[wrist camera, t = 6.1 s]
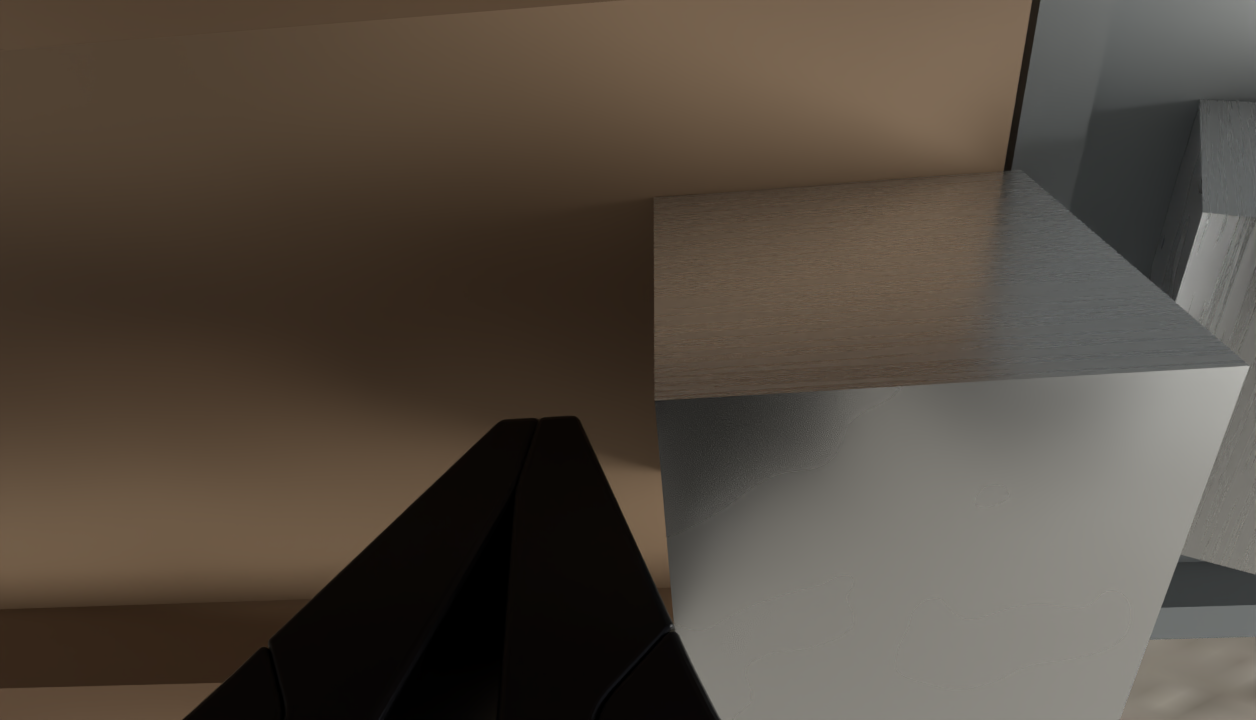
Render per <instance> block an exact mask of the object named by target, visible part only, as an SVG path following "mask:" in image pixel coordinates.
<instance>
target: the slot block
mask: <svg viewBox="0 0 1256 720" xmlns="http://www.w3.org/2000/svg"><path fill="white" fill-rule="evenodd" d="M1031 4H1032V0H0V720H182V719H183V718H184V717H185V716H187V715H188V714H189V713H190V712H191V711H192V710H193V709H194V708H195V707H196V706H198V705H199V704H200V703H201V702H202V701H203V700H204V699H205V698H206V697H207V696H209V695H210V694H211V693H212V692H213V691H214V690H215V689H216V688H217V687H218V686H220V685H221V684H222V683H223V682H224V681H225V680H226V679H227V678H228V677H229V676H230V675H231V674H233V673H234V672H235V671H236V670H237V669H238V668H239V667H240V666H241V665H242V664H243V663H244V662H245V661H246V660H247V659H248V658H249V657H250V656H251V655H253V654H254V653H255V652H256V651H257V650H258V649H259V648H260V647H263V646H265V647H267V648H268V641H269V639H270V638H271V637H272V636H273V635H274V634H275V633H276V632H277V631H278V630H279V629H280V628H281V627H283V626H284V625H285V624H286V623H287V622H288V621H289V620H290V619H291V618H292V617H293V616H294V615H295V614H296V613H297V612H298V611H299V610H300V609H301V608H303V607H304V606H305V605H306V604H307V603H308V602H309V601H310V600H311V599H312V598H313V597H314V596H315V595H316V594H317V593H318V592H319V591H320V590H322V589H323V588H324V587H325V586H326V585H327V584H328V583H329V582H330V581H331V580H332V579H333V578H334V577H335V576H336V575H337V574H338V573H339V572H340V571H342V570H343V569H344V568H345V567H346V566H347V565H348V564H349V563H350V562H351V561H352V560H353V559H354V558H355V557H356V556H357V555H358V554H359V553H361V552H362V551H363V550H364V549H365V548H366V547H367V546H368V545H369V544H370V543H371V542H372V541H373V540H374V539H375V538H376V537H377V536H378V535H379V534H381V533H382V532H383V531H384V530H385V529H386V528H387V527H388V526H389V525H390V524H391V523H392V522H393V521H394V520H395V519H396V518H397V517H398V516H400V515H401V514H402V513H403V512H404V511H405V510H406V509H407V508H408V507H409V506H410V505H411V504H412V503H413V502H414V501H415V500H416V499H417V498H419V497H420V496H421V495H422V494H423V493H424V492H425V491H426V490H427V489H428V488H429V487H430V486H431V485H432V484H433V483H434V482H435V481H436V480H437V479H439V478H440V477H441V476H442V475H443V474H444V473H445V472H446V471H447V470H448V469H449V468H450V467H451V466H452V465H453V464H454V463H455V462H456V461H458V460H459V459H460V458H461V457H462V456H463V455H464V454H465V453H466V452H467V451H468V450H469V449H470V448H471V447H472V446H473V445H474V444H475V443H476V442H478V441H479V440H480V439H481V438H482V437H483V436H484V435H485V434H486V433H487V432H488V431H489V430H490V429H491V428H492V427H493V426H494V425H495V424H497V423H498V422H499V421H501V420H504V419H519V418H537V419H539V420H540V419H541V418H543V417H555V416H576V417H578V418H579V419H580V421H581V423H582V425H583V428H584V430H585V432H586V434H587V436H588V439H589V441H590V443H591V445H592V447H593V450H594V452H595V454H596V456H597V458H598V460H599V463H600V465H601V467H602V469H603V471H604V474H605V476H606V478H607V480H608V482H609V484H610V487H611V489H612V491H613V493H614V495H615V498H616V500H617V502H618V504H619V506H620V509H621V511H622V513H623V515H624V517H625V519H626V522H627V524H628V526H629V528H630V530H631V533H632V535H633V537H634V539H635V541H636V543H637V546H638V548H639V550H640V552H641V554H642V557H643V559H644V561H645V563H646V565H647V567H648V570H649V572H650V574H651V576H652V578H653V581H654V583H655V585H656V587H657V589H658V592H659V594H660V596H661V598H662V600H663V602H664V605H665V607H666V609H667V611H668V613H669V616H670V618H671V620H672V622H673V624H674V618H673V607H672V595H671V584H670V572H669V561H668V549H667V538H666V526H665V515H664V503H663V492H662V480H661V469H660V457H659V446H658V434H657V423H656V411H655V378H654V197H667V196H680V195H693V194H706V193H720V192H733V191H746V190H759V189H773V188H786V187H799V186H812V185H826V184H839V183H852V182H865V181H879V180H892V179H905V178H918V177H932V176H945V175H958V174H971V173H984V172H998V171H1004V165H1005V159H1006V153H1007V147H1008V141H1009V135H1010V130H1011V124H1012V118H1013V112H1014V106H1015V100H1016V94H1017V88H1018V82H1019V76H1020V70H1021V64H1022V58H1023V52H1024V46H1025V40H1026V34H1027V28H1028V22H1029V16H1030V10H1031ZM268 649H269V648H268Z"/></svg>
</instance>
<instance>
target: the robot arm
mask: <svg viewBox="0 0 1256 720" xmlns="http://www.w3.org/2000/svg"><path fill="white" fill-rule="evenodd" d="M268 648H269V649H268ZM268 648H267V647H265V646H263V647H260V648H259V649H258V650H257V651H256V652H255V653H254V654H253V655H251V656H250V657H249V658H248V659H247V660H246V661H245V662H244V663H243V664H242V665H241V666H240V667H239V668H238V669H237V670H236V671H235V672H234V673H233V674H231V675H230V676H229V677H228V678H227V679H226V680H225V681H224V682H223V683H222V684H221V685H220V686H218V687H217V688H216V689H215V690H214V691H213V692H212V693H211V694H210V695H209V696H207V697H206V698H205V699H204V700H203V701H202V702H201V703H200V704H199V705H198V706H196V707H195V708H194V709H193V710H192V711H191V712H190V713H189V714H188V715H187V716H185V717H184V718H183V719H182V720H721V719H720V717H719V715H718V714H717V712H716V710H715V708H714V706H713V704H712V702H711V700H710V698H709V696H708V694H707V692H706V690H705V688H704V686H703V684H702V682H701V680H700V678H699V676H698V674H697V672H696V670H695V668H694V666H693V664H692V662H691V660H690V658H689V656H688V654H687V651H686V649H685V647H684V645H683V643H682V641H681V638H680V636H679V634H678V633H676V632H675V626H674V624H673V622H672V620H671V618H670V616H669V613H668V611H667V609H666V607H665V605H664V602H663V600H662V598H661V596H660V594H659V592H658V589H657V587H656V585H655V583H654V581H653V578H652V576H651V574H650V572H649V570H648V567H647V565H646V563H645V561H644V559H643V557H642V554H641V552H640V550H639V548H638V546H637V543H636V541H635V539H634V537H633V535H632V533H631V530H630V528H629V526H628V524H627V522H626V519H625V517H624V515H623V513H622V511H621V509H620V506H619V504H618V502H617V500H616V498H615V495H614V493H613V491H612V489H611V487H610V484H609V482H608V480H607V478H606V476H605V474H604V471H603V469H602V467H601V465H600V463H599V460H598V458H597V456H596V454H595V452H594V450H593V447H592V445H591V443H590V441H589V439H588V436H587V434H586V432H585V430H584V428H583V425H582V423H581V421H580V419H579V418H578V417H576V416H555V417H543V418H541V419H540V420H539V419H537V418H519V419H504V420H501V421H499V422H498V423H497V424H495V425H494V426H493V427H492V428H491V429H490V430H489V431H488V432H487V433H486V434H485V435H484V436H483V437H482V438H481V439H480V440H479V441H478V442H476V443H475V444H474V445H473V446H472V447H471V448H470V449H469V450H468V451H467V452H466V453H465V454H464V455H463V456H462V457H461V458H460V459H459V460H458V461H456V462H455V463H454V464H453V465H452V466H451V467H450V468H449V469H448V470H447V471H446V472H445V473H444V474H443V475H442V476H441V477H440V478H439V479H437V480H436V481H435V482H434V483H433V484H432V485H431V486H430V487H429V488H428V489H427V490H426V491H425V492H424V493H423V494H422V495H421V496H420V497H419V498H417V499H416V500H415V501H414V502H413V503H412V504H411V505H410V506H409V507H408V508H407V509H406V510H405V511H404V512H403V513H402V514H401V515H400V516H398V517H397V518H396V519H395V520H394V521H393V522H392V523H391V524H390V525H389V526H388V527H387V528H386V529H385V530H384V531H383V532H382V533H381V534H379V535H378V536H377V537H376V538H375V539H374V540H373V541H372V542H371V543H370V544H369V545H368V546H367V547H366V548H365V549H364V550H363V551H362V552H361V553H359V554H358V555H357V556H356V557H355V558H354V559H353V560H352V561H351V562H350V563H349V564H348V565H347V566H346V567H345V568H344V569H343V570H342V571H340V572H339V573H338V574H337V575H336V576H335V577H334V578H333V579H332V580H331V581H330V582H329V583H328V584H327V585H326V586H325V587H324V588H323V589H322V590H320V591H319V592H318V593H317V594H316V595H315V596H314V597H313V598H312V599H311V600H310V601H309V602H308V603H307V604H306V605H305V606H304V607H303V608H301V609H300V610H299V611H298V612H297V613H296V614H295V615H294V616H293V617H292V618H291V619H290V620H289V621H288V622H287V623H286V624H285V625H284V626H283V627H281V628H280V629H279V630H278V631H277V632H276V633H275V634H274V635H273V636H272V637H271V638H270V639H269V641H268Z"/></svg>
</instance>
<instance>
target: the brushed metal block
mask: <svg viewBox="0 0 1256 720" xmlns="http://www.w3.org/2000/svg"><path fill="white" fill-rule="evenodd" d="M1248 369H1249V365H1248V364H1247V363H1246V362H1245V361H1244V360H1242V359H1241V358H1240V357H1239V356H1238V355H1237V354H1235V353H1234V352H1233V351H1232V350H1231V349H1230V348H1228V347H1227V346H1226V345H1225V344H1224V343H1223V342H1221V341H1220V340H1219V339H1218V338H1217V337H1216V336H1214V335H1213V334H1212V333H1211V332H1210V331H1209V330H1207V329H1206V328H1205V327H1204V326H1203V325H1202V324H1200V323H1199V322H1198V321H1197V320H1196V319H1195V318H1193V317H1192V316H1191V315H1190V314H1189V313H1188V312H1186V311H1185V310H1184V309H1183V308H1182V307H1181V306H1179V305H1178V304H1177V303H1176V302H1175V301H1174V300H1172V299H1171V298H1170V297H1169V296H1168V295H1167V294H1165V293H1164V292H1163V291H1162V290H1161V289H1160V288H1158V287H1157V286H1156V285H1155V284H1154V283H1153V282H1151V281H1150V280H1149V279H1148V278H1147V277H1146V276H1144V275H1143V274H1142V273H1141V272H1140V271H1139V270H1137V269H1136V268H1135V267H1134V266H1133V265H1132V264H1130V263H1129V262H1128V261H1127V260H1126V259H1125V258H1123V257H1122V256H1121V255H1120V254H1119V253H1118V252H1116V251H1115V250H1114V249H1113V248H1112V247H1111V246H1109V245H1108V244H1107V243H1106V242H1105V241H1104V240H1102V239H1101V238H1100V237H1099V236H1098V235H1097V234H1095V233H1094V232H1093V231H1092V230H1091V229H1090V228H1088V227H1087V226H1086V225H1085V224H1084V223H1083V222H1081V221H1080V220H1079V219H1078V218H1077V217H1076V216H1074V215H1073V214H1072V213H1071V212H1070V211H1069V210H1067V209H1066V208H1065V207H1064V206H1063V205H1062V204H1060V203H1059V202H1058V201H1057V200H1056V199H1055V198H1053V197H1052V196H1051V195H1050V194H1049V193H1048V192H1046V191H1045V190H1044V189H1043V188H1042V187H1041V186H1039V185H1038V184H1037V183H1036V182H1035V181H1034V180H1032V179H1031V178H1030V177H1029V176H1028V175H1027V174H1025V173H1024V172H1023V171H1022V170H1011V171H998V172H984V173H971V174H958V175H945V176H932V177H918V178H905V179H892V180H879V181H865V182H852V183H839V184H826V185H812V186H799V187H786V188H773V189H759V190H746V191H733V192H720V193H706V194H693V195H680V196H667V197H654V378H655V411H656V423H657V434H658V446H659V457H660V469H661V480H662V492H663V503H664V515H665V526H666V538H667V549H668V561H669V572H670V584H671V595H672V607H673V618H674V626H675V632H676V633H678V634H679V636H680V638H681V641H682V643H683V645H684V647H685V649H686V651H687V654H688V656H689V658H690V660H691V662H692V664H693V666H694V668H695V670H696V672H697V674H698V676H699V678H700V680H701V682H702V684H703V686H704V688H705V690H706V692H707V694H708V696H709V698H710V700H711V702H712V704H713V706H714V708H715V710H716V712H717V714H718V715H719V717H720V719H721V720H1120V718H1121V715H1122V713H1123V710H1124V707H1125V704H1126V702H1127V699H1128V696H1129V693H1130V691H1131V688H1132V685H1133V683H1134V680H1135V677H1136V674H1137V672H1138V669H1139V666H1140V663H1141V661H1142V658H1143V655H1144V653H1145V650H1146V647H1147V644H1148V642H1149V639H1150V636H1151V633H1152V631H1153V628H1154V625H1155V623H1156V620H1157V617H1158V614H1159V612H1160V609H1161V606H1162V604H1163V601H1164V598H1165V595H1166V593H1167V590H1168V587H1169V584H1170V582H1171V579H1172V576H1173V574H1174V571H1175V568H1176V565H1177V563H1178V560H1179V557H1180V554H1181V552H1182V549H1183V546H1184V544H1185V541H1186V538H1187V535H1188V533H1189V530H1190V527H1191V524H1192V522H1193V519H1194V516H1195V514H1196V511H1197V508H1198V505H1199V503H1200V500H1201V497H1202V494H1203V492H1204V489H1205V486H1206V484H1207V481H1208V478H1209V475H1210V473H1211V470H1212V467H1213V464H1214V462H1215V459H1216V456H1217V454H1218V451H1219V448H1220V445H1221V443H1222V440H1223V437H1224V435H1225V432H1226V429H1227V426H1228V424H1229V421H1230V418H1231V415H1232V413H1233V410H1234V407H1235V405H1236V402H1237V399H1238V396H1239V394H1240V391H1241V388H1242V385H1243V383H1244V380H1245V377H1246V375H1247V372H1248Z"/></svg>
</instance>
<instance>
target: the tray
mask: <svg viewBox="0 0 1256 720" xmlns="http://www.w3.org/2000/svg"><path fill="white" fill-rule="evenodd" d="M1199 99H1200V100H1220V101H1241V102H1256V0H1032V4H1031V10H1030V16H1029V22H1028V28H1027V34H1026V40H1025V46H1024V52H1023V58H1022V64H1021V70H1020V76H1019V82H1018V88H1017V94H1016V100H1015V106H1014V112H1013V118H1012V124H1011V130H1010V135H1009V141H1008V147H1007V153H1006V159H1005V165H1004V171H1011V170H1022V171H1023V172H1024V173H1025V174H1027V175H1028V176H1029V177H1030V178H1031V179H1032V180H1034V181H1035V182H1036V183H1037V184H1038V185H1039V186H1041V187H1042V188H1043V189H1044V190H1045V191H1046V192H1048V193H1049V194H1050V195H1051V196H1052V197H1053V198H1055V199H1056V200H1057V201H1058V202H1059V203H1060V204H1062V205H1063V206H1064V207H1065V208H1066V209H1067V210H1069V211H1070V212H1071V213H1072V214H1073V215H1074V216H1076V217H1077V218H1078V219H1079V220H1080V221H1081V222H1083V223H1084V224H1085V225H1086V226H1087V227H1088V228H1090V229H1091V230H1092V231H1093V232H1094V233H1095V234H1097V235H1098V236H1099V237H1100V238H1101V239H1102V240H1104V241H1105V242H1106V243H1107V244H1108V245H1109V246H1111V247H1112V248H1113V249H1114V250H1115V251H1116V252H1118V253H1119V254H1120V255H1121V256H1122V257H1123V258H1125V259H1126V260H1127V261H1128V262H1129V263H1130V264H1132V265H1133V266H1134V267H1135V268H1136V269H1137V270H1139V271H1140V272H1141V273H1142V274H1143V275H1144V276H1146V277H1147V278H1149V275H1150V271H1151V268H1152V264H1153V261H1154V257H1155V254H1156V250H1157V247H1158V243H1159V240H1160V236H1161V233H1162V229H1163V226H1164V222H1165V219H1166V215H1167V212H1168V208H1169V205H1170V201H1171V198H1172V194H1173V191H1174V187H1175V184H1176V180H1177V177H1178V173H1179V170H1180V166H1181V163H1182V159H1183V156H1184V152H1185V149H1186V145H1187V142H1188V138H1189V135H1190V131H1191V127H1192V124H1193V120H1194V117H1195V113H1196V110H1197V106H1198V103H1199ZM1225 637H1256V574H1252V573H1248V572H1244V571H1241V570H1237V569H1233V568H1229V567H1226V566H1222V565H1218V564H1214V563H1211V562H1207V561H1203V560H1199V559H1196V558H1192V557H1188V556H1184V555H1181V554H1180V557H1179V560H1178V563H1177V565H1176V568H1175V571H1174V574H1173V576H1172V579H1171V582H1170V584H1169V587H1168V590H1167V593H1166V595H1165V598H1164V601H1163V604H1162V606H1161V609H1160V612H1159V614H1158V617H1157V620H1156V623H1155V625H1154V628H1153V631H1152V633H1151V636H1150V639H1149V640H1151V639H1188V638H1225Z"/></svg>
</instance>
